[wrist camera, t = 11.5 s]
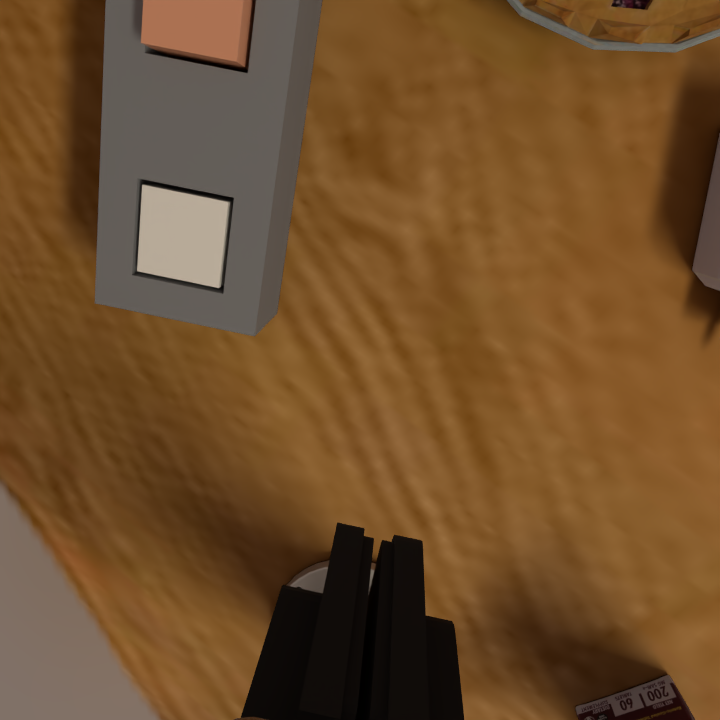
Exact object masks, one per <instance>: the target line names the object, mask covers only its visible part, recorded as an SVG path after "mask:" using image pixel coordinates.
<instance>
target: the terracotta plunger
mask: <svg viewBox="0 0 720 720" xmlns="http://www.w3.org/2000/svg"><path fill="white" fill-rule="evenodd" d="M255 5H256V0H143V14H142V32H141V43H142V44H144V45H146V46H148V47H150V48H152V49H154V50H156V51H158V52H160V53H162V54H164V55H166V56H168V57H170V58H173V59H178V60H183V61H188V62H193V63H198V64H203V65H208V66H213V67H218V68H223V69H228V70H233V71H238V72H243V73H248V68H249V59H250V50H251V41H252V32H253V23H254V14H255Z"/></svg>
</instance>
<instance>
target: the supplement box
mask: <svg viewBox="0 0 720 720" xmlns="http://www.w3.org/2000/svg"><path fill="white" fill-rule="evenodd" d="M575 709H576V712H577V716H578V719H579V720H695V719H694V717H693V715H692V713H691V711H690V710H689V708H688V706H687V704H686V702H685V701H684V699H683V697H682V696H681V694H680V692H679V691H678V689H677V687H676V685H675V684H674V682H673V680H672V679H671V677H670V676H669V675H666V676H663V677H661V678H659V679H657V680H654V681H651V682H648V683H645V684H643V685H640V686H637V687H634V688H631V689H629V690H626V691H623V692H620V693H617V694H614V695H611V696H608V697H605V698H602V699H599V700H596V701H593V702H590V703H587V704H583V705H579V706H576V708H575Z"/></svg>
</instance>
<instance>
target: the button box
mask: <svg viewBox="0 0 720 720" xmlns="http://www.w3.org/2000/svg"><path fill="white" fill-rule="evenodd" d="M321 6H322V0H256V5H255V14H254V23H253V32H252V41H251V50H250V59H249V68H248V73H243V72H238V71H233V70H228V69H223V68H218V67H213V66H208V65H203V64H198V63H193V62H188V61H183V60H178V59H173V58H170V57H168V56H166V55H164V54H162V53H160V52H158V51H156V50H154V49H152V48H150V47H148V46H146V45H144V44H142V43H141V32H142V14H143V0H106V7H105V35H104V63H103V91H102V119H101V147H100V175H99V203H98V231H97V259H96V287H95V303H97V304H101V305H106V306H111V307H116V308H121V309H126V310H130V311H135V312H140V313H145V314H150V315H155V316H159V317H164V318H169V319H174V320H179V321H183V322H188V323H193V324H198V325H203V326H208V327H212V328H217V329H222V330H227V331H232V332H237V333H241V334H246V335H251V336H255V335H256V334H257V333H258V332H259V331H260V330H261V329H262V328H263V327H264V326H265V325H266V324H267V323H268V322H269V321H270V320H271V319H272V318H273V317H274V316H275V315H276V314H277V309H278V302H279V296H280V289H281V282H282V275H283V268H284V261H285V254H286V247H287V240H288V234H289V227H290V220H291V213H292V206H293V199H294V192H295V185H296V178H297V171H298V165H299V158H300V151H301V144H302V137H303V130H304V123H305V116H306V109H307V103H308V96H309V89H310V82H311V75H312V68H313V61H314V54H315V47H316V40H317V34H318V27H319V20H320V13H321ZM151 184H169V185H174V186H179V187H184V188H189V189H193V190H198V191H203V192H208V193H213V194H218V195H223V196H228V197H233V198H234V202H233V211H232V220H231V229H230V238H229V247H228V256H227V265H226V274H225V283H224V285H223V286H222V287H220V288H216V287H212V286H207V285H202V284H197V283H192V282H187V281H182V280H178V279H173V278H168V277H163V276H158V275H153V274H148V273H144V272H139V271H137V264H138V247H139V231H140V214H141V197H142V185H151Z"/></svg>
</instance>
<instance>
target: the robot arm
mask: <svg viewBox="0 0 720 720" xmlns="http://www.w3.org/2000/svg"><path fill="white" fill-rule="evenodd" d="M373 543H374V538H370V537H365V536H364V528H360V527H356V526H351V525H346V524H342V523H337V527H336V532H335V536H334V541H333V546H332V551H331V556H330V560H328V561H324V562H320V563H317V564H315V565H312V566H310V567H308V568H306V569H304V570H303V571H301V572H300V573H299V574H297V575H296V576H295V577H294V578H293V579H292V580H291V581H290V582H289V583H288V584H287V586H286V585H283V586H282V588H281V591H280V594H279V597H278V600H277V603H276V607H275V610H274V613H273V616H272V619H271V623H270V626H269V629H268V632H267V635H266V639H265V642H264V645H263V648H262V651H261V655H260V658H259V661H258V664H257V667H256V671H255V674H254V677H253V680H252V684H251V687H250V690H249V693H248V696H247V700H246V703H245V706H244V709H243V712H242V716H241V718H237V719H234V720H464V713H463V703H462V694H461V684H460V674H459V664H458V655H457V645H456V635H455V628H454V624H453V622H452V621H448V620H444V619H439V618H435V617H430V616H425V590H424V564H423V543H422V541H421V540H417V539H412V538H407V537H403V536H398V535H394V536H393V539H392V542H389V541H384V540H382V542H381V545H380V549H379V554H378V558H377V562H376V564H375V563H372V553H373Z"/></svg>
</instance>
